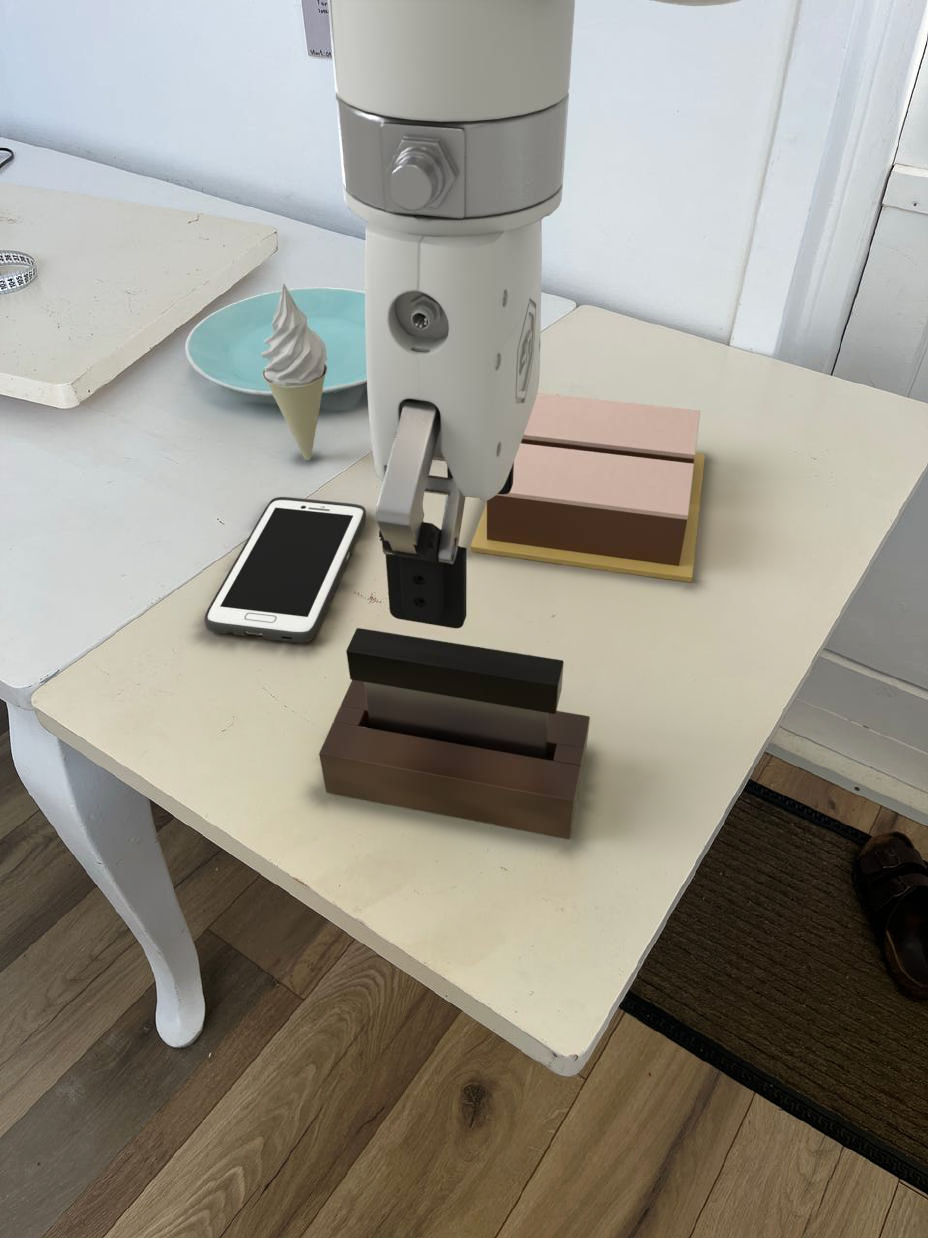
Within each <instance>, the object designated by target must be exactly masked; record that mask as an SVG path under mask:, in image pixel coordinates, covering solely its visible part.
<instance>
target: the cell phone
mask: <svg viewBox="0 0 928 1238" xmlns="http://www.w3.org/2000/svg"><path fill="white" fill-rule="evenodd" d="M366 520H367V511H366V508H365V506H363V505H361V504H357V503H350V502H341V501H331V500H320V499H311V498H300V497H292V496H277V497H273V498H272V499H271V500H270V501H268V504H267V505H266V506H265V508H264V510H263V511H262V513H261V515H260V517H259V519H258V520H257V522H256V524H255V525H254V527H253V529H252V531H251V532H250V534H249V536H248V538H247V540H246V541H245V543H244V545H243V546H242V547H241V550H240V552H239V553H238V554H237V557H236V559H235V560H234V562H233V564H232V565H231V568H230V569H229V570H228V573H227V574H226V576H225V578H224V580H223V581H222V583H221V585H220V587H219V588H218V590H217V592H216V593H215V595H214V597H213V599H212V601H211V602H210V604H209V606H208V607H207V610H206V612H205V615H204V618H203V620H204V625H205V628H206V629H207V630H209V631H211V632H213V633H218V634H226V635H228V634H233V635H234V636H243V637H247V636H248V635H249V636H256V637H263V639H266V640H272V641H273V640H274V641H281V642H290V643H307V642H310V641H312V640H313V639H314V638H315V636H316V634H317V633H318V631H319V630H320V627H321V625H322V622H323V621H324V619H325V615H326V613H327V610H328V608H329V606H330V604H331V602H332V600H333V597H334V595H335V592H336V590H337V588H338V585H339V583H340V581H341V579H342V577H343V574H344V572H345V570H346V567H347V565H348V560H349V557H350V556H351V555H352V554H353V551H354V550H355V547H356V544H357V542H358V540H359V537H360V535H361V533H362V530H363V528H364V526H365V524H366Z"/></svg>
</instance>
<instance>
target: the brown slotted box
mask: <svg viewBox="0 0 928 1238" xmlns="http://www.w3.org/2000/svg"><path fill="white" fill-rule="evenodd" d="M590 721H591V717H590V716H589V715H586V714H585V715H584V714H580V713H579V714H578V713H572V712H566V711H561V710H557V712H556V714H551V713H549V716H548V730H547V745H546V760H545V759H539V758H533V757H528V756H522V755H517V754H511V753H505V752H500V751H494V750H489V749H483V748H477V747H472V746H466V745H461V744H455V743H449V742H444V741H438V740H433V739H427V738H421V737H416V736H410V735H405V734H399V733H393V732H388V731H382V730H377V729H371V728H370V722H369V714H368V706H367V698H366V690H365V682H362V681H356V680H351V682H350V684H349V686H348V687H347V690H346V693H345V695H344V697H343V699H342V702H341V704H340V706H339V708H338V710H337V712H336V714H335V717H334V719H333V722H332V723H331V726H330V728H329V730H328V732H327V734H326V737H325V739H324V742H323V744H322V746H321V748H320V750H319V752H318V756H319V761H320V768H321V773H322V777H323V783H324V788H325V792H326V794H327V793H328V794H333V795H337V796H343V797H348V798H353V799H359V800H363V801H364V800H365V801H369V802H375V803H380V804H384V805H385V804H386V805H390V806H395V807H399V808H405V809H411V810H416V811H421V812H426V813H432V814H437V815H441V816H447V817H452V818H457V819H462V820H467V821H473V822H477V823H483V824H487V825H488V824H489V825H494V826H497V827H498V826H499V827H503V828H504V827H505V828H510V829H514V830H518V831H519V830H520V831H524V832H529V833H535V834H540V835H545V836H551V837H556V838H559V839H560V838H561V839H566V840H570V839H571V836H572V830H573V825H574V820H575V814H576V810H577V804H578V800H579V799H578V798H579V793H580V788H581V782H582V776H583V772H584V766H585V761H586V757H587V747H588V739H589V730H590V723H591V722H590Z"/></svg>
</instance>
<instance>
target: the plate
mask: <svg viewBox="0 0 928 1238" xmlns="http://www.w3.org/2000/svg"><path fill="white" fill-rule="evenodd" d="M287 289H288V288H287ZM288 291H289V293H290V295H291V297H292V298H293V300H294V302H295V304H296V305H297V307H298V308H299V309H300V310H301V311H302V312H303V313H304V314H305V315H306V316H307V325H308V327H309V328H310V329H311V330H313V331H315V332H316V334H317V335H318V336H319V337H320V338H321V339H322V341H323V342H324V343H325V347H326V354H327V356H326V357H327V360H326V361H325V364H326V365H327V369H328V370H327V373H326V375H325V379H324V384H323V390H322V396H328V395H333V394H336V393H340V392H343V391H347V390H349V389H352V388H355V387H357V386H362V385H364V384H367V370H366V335H365V291H363V290H357V289H352V288H351V289H350V288H342V287H299V288H289V289H288ZM281 292H282V289H281V290H276V291H270V292H265V293H261V294H258V295H254V296H249V297H247V298H244V299H240V300H238V301H236V302H233V303H230V304H229V305H226V306H224V307H223V308H222V307H221V308H219V309H218V310H216V311H214V312H213V313H212V312H211V314H209V315H208V316H207V317H205V318H203V319H202V320H200V321H199V323H197V325H195V326H194V328H192V330H191V331H190V332H189V334H188V336H187V338H186V341H185V345H184V352H185V356H186V359H187V361H188V363H189V364H190V365H191V367H192V368H193V370H195V371H196V372H197V373H198V374H199V375H200V376H201V377H203V378H204V379H206V380H208V381H209V382H211V383H212V384H215V385H217V386H219V387H222V388H224V389H227V390H230V391H234V392H238V393H242V394H247V395H254V396H262V397H263V396H265V397H273V398H274V396H273V393H272V391H271V389H270V387H269V385H268V383H267V382H266V381H265V380H264V378H263V376H262V372H263V369H264V367H266V366H267V365H268V363H269V362H270V361H269V360H268V358H262V355H261V353H262V352H264V351H267V350H269V349H270V345H268V344H266V343H264V340H266V339H267V338H269V337H270V336H271V335H272V334H273V333H274V330H273V326H272V322H273V320H274V318H273V317H274V315H275V312H276V310H277V307H278V303H279V299H280V296H281Z"/></svg>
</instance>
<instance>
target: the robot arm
mask: <svg viewBox="0 0 928 1238" xmlns="http://www.w3.org/2000/svg"><path fill="white" fill-rule="evenodd" d="M650 1H651V2H657V3H663V4H668V5H677V6H685V7H686V6H687V7H709V6H722V5H728V4H732V3H737V2H741V0H650ZM575 6H576V0H327V8H328V21H329V22H328V23H329V31H330V32H329V33H330V45H331V55H332V67H333V79H334V80H333V81H334V90H335V105H336V115H337V116H336V117H337V127H338V140H339V153H340V161H341V162H340V163H341V164H340V165H341V176H342V184H343V185H342V186H343V199H344V203H345V205H346V206H347V209H348V210H349V211H350V212H351V213H353V214H354V215H355V216H356V217H357V218H360V220H363V221H365V248H364V249H365V251H364V253H365V257H364V271H365V272H364V276H365V277H364V292H365V335H366V370H367V383H366V391H367V393H366V394H367V409H368V421H369V433H370V441H371V442H370V443H371V444H370V445H371V450H372V457H373V464H374V469H375V472H376V474H377V476H378V478H379V479H380V481H382V482H381V483H382V484H381V487H380V492H379V495H378V500H377V501H376V508H375V521H376V524H377V526H378V528H379V532H378V538H379V541H380V542H381V548H382V553H383V554H384V555H385V566H386V568H385V569H386V578H387V580H386V581H387V593H388V606H389V613H390V615H391V616H392V617H393V618H395V619H398V620H401V621H402V620H403V621H408V622H414V623H418V624H419V623H420V624H425V625H431V626H438V627H444V628H449V629H460V628H462V627H463V626H464V624H465V621H466V618H467V586H468V585H467V583H468V581H467V580H468V579H467V578H468V577H467V568H468V567H467V565H468V563H467V562H468V561H467V557H468V556H467V553H468V552H467V551H468V549H467V548H468V547H465V546H460V545H459V544H460V536H461V530H462V524H463V516H464V510H465V504H466V498H474V499H475V498H476V499H479V500H480V501H486V502H487V500H489V499H491V498H493V497H494V496H495V495H496V494H501V495H504V494H508V493H509V492H510V491H511V488H512V485H513V473H514V460H515V457H516V454H517V452H518V449H519V446H520V443H521V441H522V438H523V435H524V432H525V430H526V427H527V424H528V421H529V418H530V415H531V412H532V409H533V406H534V403H535V400H536V396H537V393H539V386H540V376H541V375H540V374H541V329H542V328H541V327H542V326H541V325H542V324H541V323H542V322H541V321H542V320H541V319H542V275H543V273H542V265H543V262H542V261H543V242H542V241H543V234H542V231H543V230H542V220H543V219H544V218H546V217H549V216H551V215H552V214H553V213H554V212H555V211H556V210H558V208H559V207H560V205H561V202H562V200H563V186H564V185H563V184H564V176H565V175H564V174H565V161H566V145H567V130H568V129H567V128H568V116H569V114H568V113H569V103H570V102H569V101H570V95H569V94H570V93H569V90H570V83H571V68H572V67H571V66H572V53H573V39H574V38H573V37H574V23H575V22H574V21H575V8H576V7H575ZM434 461H439V462H445V463H446V471H447V472H446V476H447V477H446V476H440V475H439V476H438V475H431V474H430V472H431V469H432V464H433V462H434ZM425 493H427V494H433V495H435V494H436V495H439V496H440V495H442V496H445V502H444V509H443V515H442V523H441V528H439V527H438V526H437V525H435V524H434V523H432V522H426V521H424V519H425V512H424V498H425V497H424V496H425Z"/></svg>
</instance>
